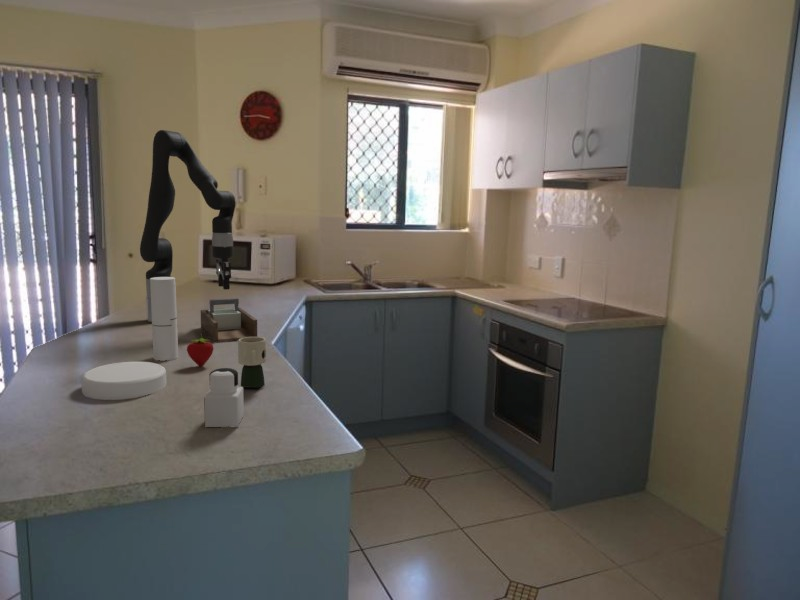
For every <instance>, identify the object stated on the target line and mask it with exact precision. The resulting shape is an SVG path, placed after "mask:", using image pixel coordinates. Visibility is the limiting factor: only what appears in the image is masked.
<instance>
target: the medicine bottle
mask: <svg viewBox="0 0 800 600" xmlns="http://www.w3.org/2000/svg"><path fill="white" fill-rule="evenodd" d="M203 400H204V401H203V403H204V404H203V405H204V406H203V407H204V411H203V412H204V427H205V428H206V427H221V428H229V427H228V426H238V425H240V424H239V423H241V422H240V421H242V420H243V418H242V417H244V415H245V414H244V412H245V410H244V409H245V408H244V387H242V386H239V372H238V370H236V369H234V368H232V367H231V368H230V367H221V368H216V369H213V370H212V371H211V372H209V390H208V391H207V393H205V395H204V397H203ZM241 419H242V420H241ZM226 426H227V427H226ZM238 427H239V426H238Z"/></svg>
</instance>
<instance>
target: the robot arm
mask: <svg viewBox="0 0 800 600" xmlns="http://www.w3.org/2000/svg"><path fill="white" fill-rule="evenodd" d="M170 157H173V158H174V157H176V158H178V159H179V160H180V161H182V163H184V165H185V166H186V169H187V174H188V177H189V179H190V180H191V182H192V183H193V184H194V186H196V188H197V189H198V190H199V191H200V193H201V196H202V197H203V199H204V202H205V203H206V205H207V206H208V207H209V208H210V209H212V210H215V211H219V213H218V215H217V216H215V217H212V220H211V223H212V224H211V229H212V235H211V247H212V248H211V249H212V255H211V256H212V258H213V259H215V263H216V264H215V267H216V269H215V270H216V271H215V273H216V275H217V278H218V279H217V280H218V281H217V282H218V283H217V284H218V287H222V288H223V290H230V288H231V287H230V279H232V269H231V268H232V265H231V264H232V263H231V261H229V259H232V258H234V237H233V224H232V223H233V219H234V214H235V210H236V198H235V195H234V194H233V193H232V192H230V191H228V190H218V189H217V188H218V187H219V184H218V181H217V179H216V178H215V177H214V176H213V175H212V174H211V173H210V172H209V171H208V169H207V168H206V167H205V166H204V165H203V163H202V162H201V161H200V159H199V157H198V156H197V154H196V153H195V151H194V149H193V148H192V146H191V144H190V142H189V141H188V139H186V137H185V136H184V135H183V134H182V133H180V132H177V131H172V130H166V129H165V130H164V129H160V130H157V132H156V133H155V135H154V137H153V141H152V165H151V166H152V167H151V179H150V185H149V186H150V187H149V191H148V200H147V209H146V210H147V211H146V217H145V224H144V227H143V232H142V235H141V239H140V240H141V241H140V243H139V244H140V245H139V246H140V247H139V254H140V257H141V259H142V260H143V261H144V262H146V263H154V265H153V266H152V267H151V268H150V269H148V270H147V271H146V272H145V285H146V286H145V288H146V290H145V291H146V297H145V301H146V320H147V322H148V323H152V312H151V289H150V278H154V277H171V274H172V272H173V258H174V257H173V256H174V255H173V246H172V244H171V242H170V240H169V239H167V238H163V237H160V233H161V229H162V227H163V225H164V224H165V222H166V221H167V220H168V218H169V216H170V215H171V214H172V212H173V210H174V206H175V199H176V189H175V186H174V183H173V182H174V181H173V180H172V178H171V175H170V171H169V167H170V166H169V165H170V164H169V162H170Z"/></svg>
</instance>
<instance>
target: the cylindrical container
mask: <svg viewBox="0 0 800 600" xmlns="http://www.w3.org/2000/svg"><path fill="white" fill-rule="evenodd" d="M176 285H177V283H176V277H173V276H172V277H154V278H150V289H151V312H152V322H151V330H152V351H153V353H152V354H153V355H152V356H153V360H154V359H155V360H154V361H158V360H160V361H161V362H163V361H164V362H166V361H165V360H167V361H173V360H176V359H178V358H179V343H178V341H179V340H178V317H177V315H178V313H177V290H176V289H177V288H176V287H177V286H176ZM160 361H159V362H160Z"/></svg>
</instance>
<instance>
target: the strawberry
mask: <svg viewBox="0 0 800 600" xmlns="http://www.w3.org/2000/svg"><path fill="white" fill-rule="evenodd" d="M200 335H201V338H199V339H192V342H190V343H189V344H188V345H187V347H186V351H187V352H186V353H187V355H188V357H190V359H191V360H192V361H193V362H194V363H195V365H197V366H198V367H203V366H204V365H205V364H206V363H207V362H208V361H209V359H210V358H211V357H212V355H213V352H214V349H215V348H214V345H213V344H212V343H211V342H210V341H211V340H210V339H205V338H203V336H202V334H200Z"/></svg>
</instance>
